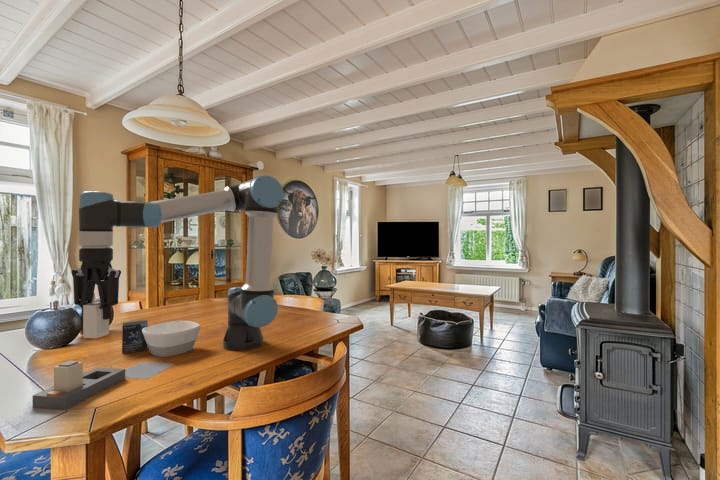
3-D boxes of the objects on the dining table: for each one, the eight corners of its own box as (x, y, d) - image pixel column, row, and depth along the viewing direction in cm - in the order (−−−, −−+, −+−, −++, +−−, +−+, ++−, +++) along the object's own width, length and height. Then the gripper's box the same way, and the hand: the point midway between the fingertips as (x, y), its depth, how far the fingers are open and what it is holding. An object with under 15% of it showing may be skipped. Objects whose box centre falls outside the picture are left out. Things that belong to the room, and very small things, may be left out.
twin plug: (82, 396, 89) (82, 360, 89) (67, 403, 85) (67, 366, 85) (69, 395, 90) (69, 359, 90) (54, 402, 86) (53, 365, 86)
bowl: (159, 364, 113) (159, 336, 113) (133, 354, 122) (133, 328, 122) (208, 349, 128) (208, 325, 128) (181, 341, 138) (181, 318, 137)
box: (122, 355, 122) (122, 325, 121) (122, 350, 126) (122, 322, 126) (147, 351, 126) (147, 322, 126) (147, 347, 131) (147, 319, 130)
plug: (108, 334, 97) (108, 301, 97) (96, 338, 93) (96, 304, 93) (96, 333, 98) (96, 301, 98) (83, 337, 94) (83, 303, 94)
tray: (175, 365, 112) (175, 363, 112) (147, 380, 100) (148, 378, 100) (142, 363, 114) (142, 361, 114) (111, 378, 102) (111, 376, 102)
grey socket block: (125, 380, 100) (125, 367, 100) (64, 412, 82) (64, 395, 82) (98, 379, 101) (98, 365, 101) (32, 409, 83) (32, 393, 83)
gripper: (134, 247, 98) (134, 328, 98) (81, 246, 100) (81, 325, 100) (112, 248, 90) (112, 335, 91) (56, 247, 93) (56, 332, 93)
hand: (96, 330), depth 95 cm, fingers closed on plug, 4 cm apart
